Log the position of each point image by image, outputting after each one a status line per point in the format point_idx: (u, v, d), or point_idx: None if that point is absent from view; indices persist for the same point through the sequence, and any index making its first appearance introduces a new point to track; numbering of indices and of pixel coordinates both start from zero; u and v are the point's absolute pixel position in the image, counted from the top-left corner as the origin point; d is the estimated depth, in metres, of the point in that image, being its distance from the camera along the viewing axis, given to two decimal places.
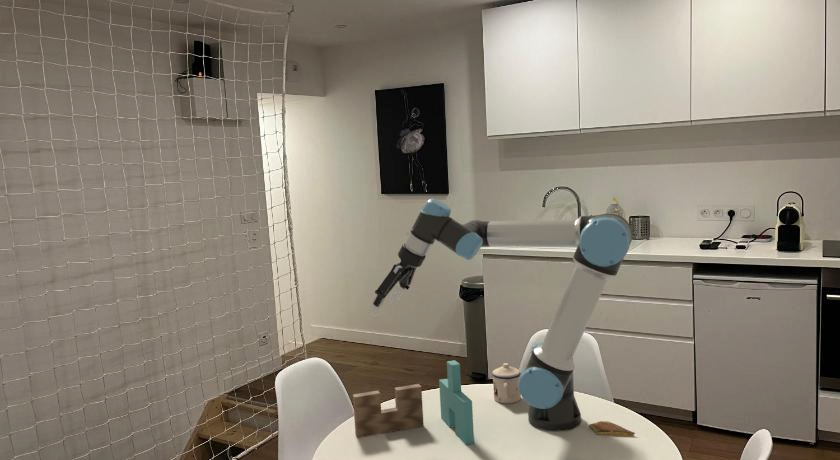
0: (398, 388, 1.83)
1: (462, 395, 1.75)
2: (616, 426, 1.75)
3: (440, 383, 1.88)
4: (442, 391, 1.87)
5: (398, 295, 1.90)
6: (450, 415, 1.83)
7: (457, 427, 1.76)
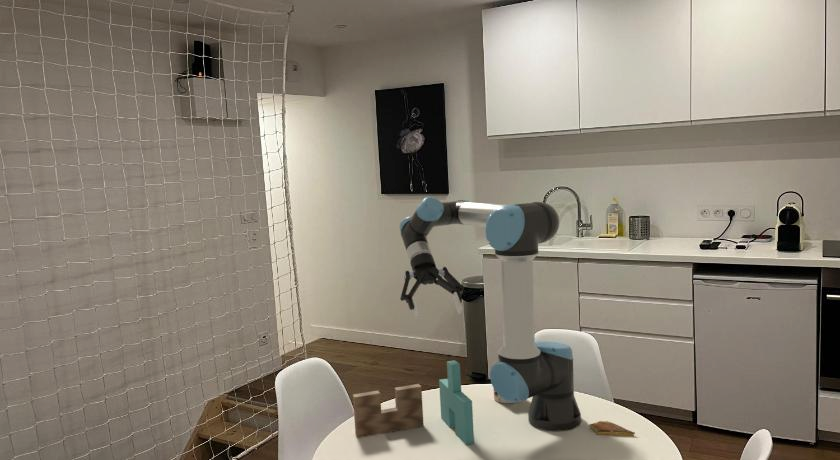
0: (398, 388, 1.83)
1: (462, 395, 1.75)
2: (616, 426, 1.75)
3: (440, 383, 1.88)
4: (442, 391, 1.87)
5: (456, 300, 1.92)
6: (450, 415, 1.83)
7: (457, 427, 1.76)
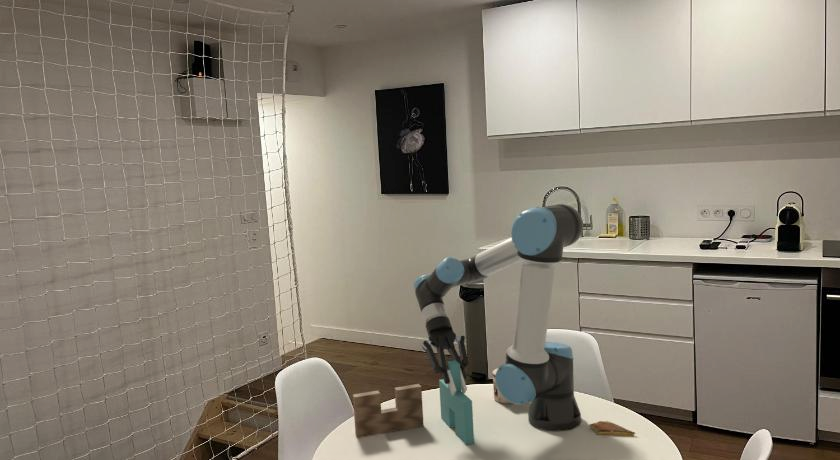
0: (398, 388, 1.83)
1: (462, 395, 1.75)
2: (616, 426, 1.75)
3: (440, 383, 1.88)
4: (442, 391, 1.87)
5: None
6: (450, 415, 1.83)
7: (457, 427, 1.76)
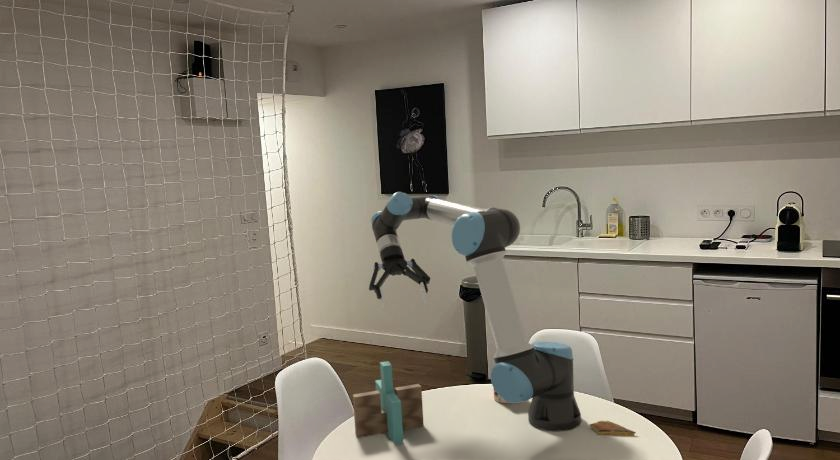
0: (398, 388, 1.83)
1: (392, 396, 1.78)
2: (616, 425, 1.75)
3: (376, 384, 1.91)
4: None
5: (422, 290, 2.01)
6: None
7: (388, 427, 1.79)
